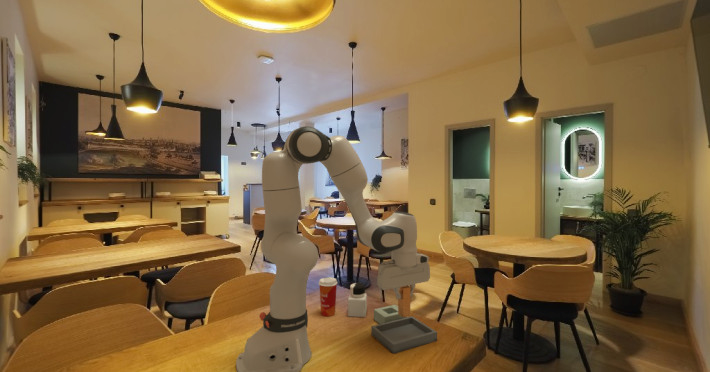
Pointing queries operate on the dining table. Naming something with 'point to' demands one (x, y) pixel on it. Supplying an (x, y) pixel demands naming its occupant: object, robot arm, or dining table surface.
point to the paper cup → (328, 296)
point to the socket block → (386, 314)
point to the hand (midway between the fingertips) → (404, 297)
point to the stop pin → (404, 301)
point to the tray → (403, 334)
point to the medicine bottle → (357, 300)
